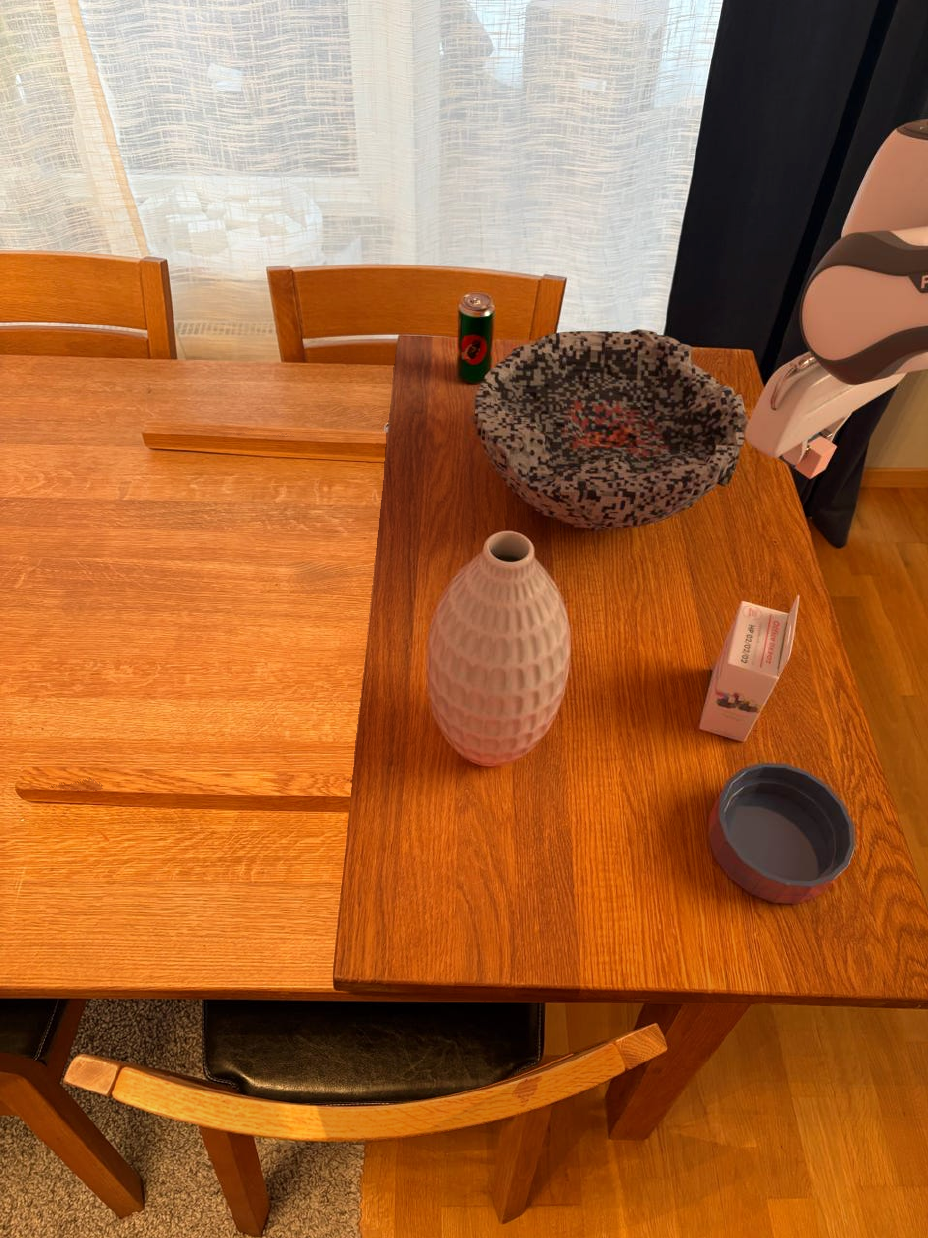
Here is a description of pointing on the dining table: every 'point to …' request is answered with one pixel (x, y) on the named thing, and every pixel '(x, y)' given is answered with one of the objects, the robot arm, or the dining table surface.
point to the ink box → (747, 669)
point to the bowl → (608, 427)
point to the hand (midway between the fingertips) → (805, 451)
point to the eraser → (815, 456)
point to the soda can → (475, 337)
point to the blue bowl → (780, 833)
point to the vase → (498, 653)
